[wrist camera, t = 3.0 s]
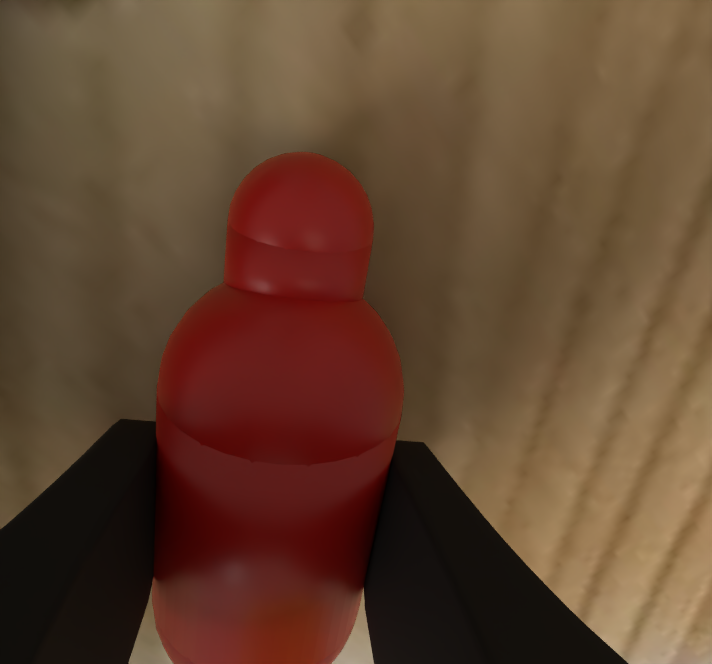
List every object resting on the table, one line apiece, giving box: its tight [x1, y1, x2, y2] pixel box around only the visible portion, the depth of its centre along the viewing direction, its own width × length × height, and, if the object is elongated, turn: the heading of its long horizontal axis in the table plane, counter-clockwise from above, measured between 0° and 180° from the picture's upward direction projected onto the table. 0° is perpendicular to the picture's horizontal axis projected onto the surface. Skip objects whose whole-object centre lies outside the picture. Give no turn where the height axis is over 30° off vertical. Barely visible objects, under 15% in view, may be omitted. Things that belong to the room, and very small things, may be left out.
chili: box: [152, 152, 404, 664], centre depth 9 cm, size 10×3×3 cm, turn 171°
